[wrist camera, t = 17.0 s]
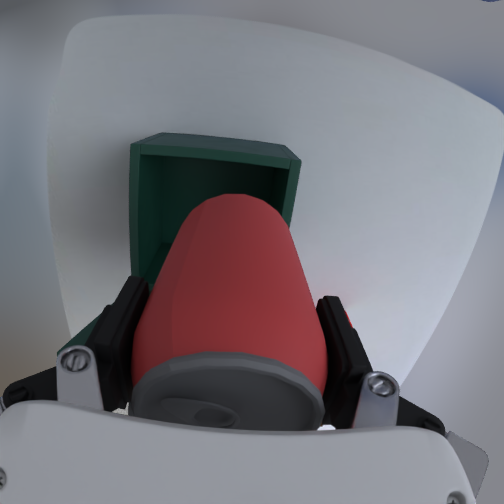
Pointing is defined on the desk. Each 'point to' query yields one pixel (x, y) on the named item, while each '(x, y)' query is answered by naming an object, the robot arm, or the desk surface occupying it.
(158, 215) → the box
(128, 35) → the desk surface
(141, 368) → the beer can
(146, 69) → the desk surface
